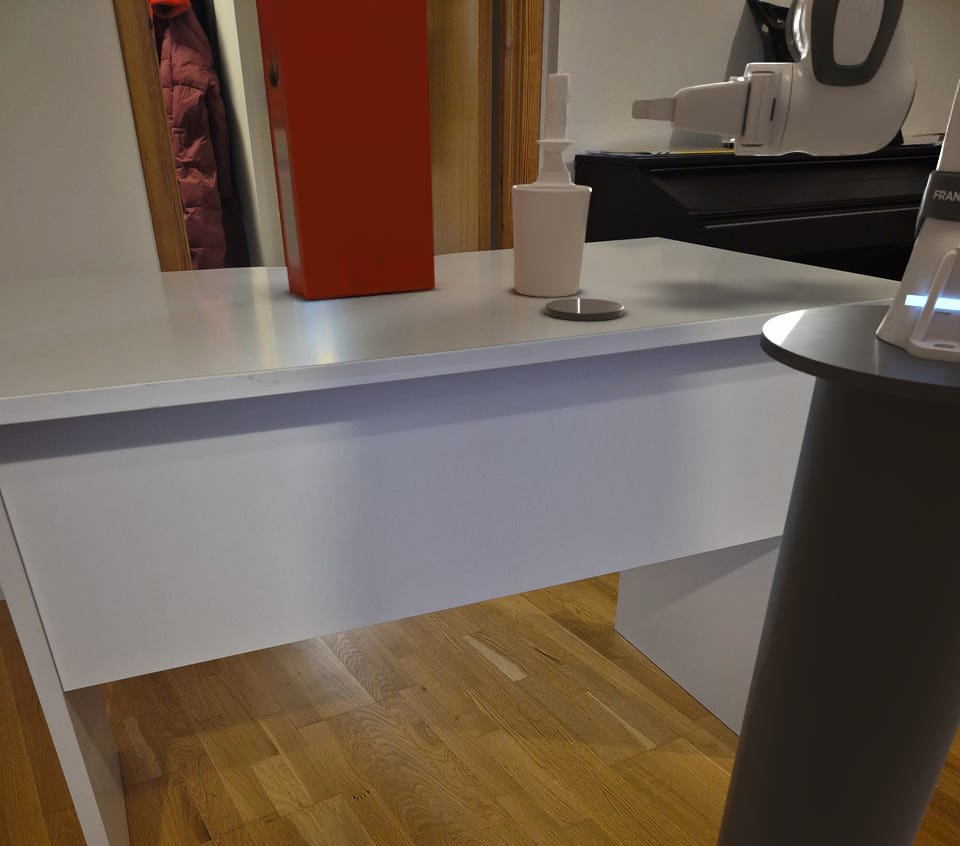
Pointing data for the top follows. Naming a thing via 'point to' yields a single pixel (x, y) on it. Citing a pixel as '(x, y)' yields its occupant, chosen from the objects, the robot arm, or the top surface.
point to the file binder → (351, 143)
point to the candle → (556, 134)
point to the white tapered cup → (548, 238)
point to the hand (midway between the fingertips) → (632, 109)
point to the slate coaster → (584, 309)
